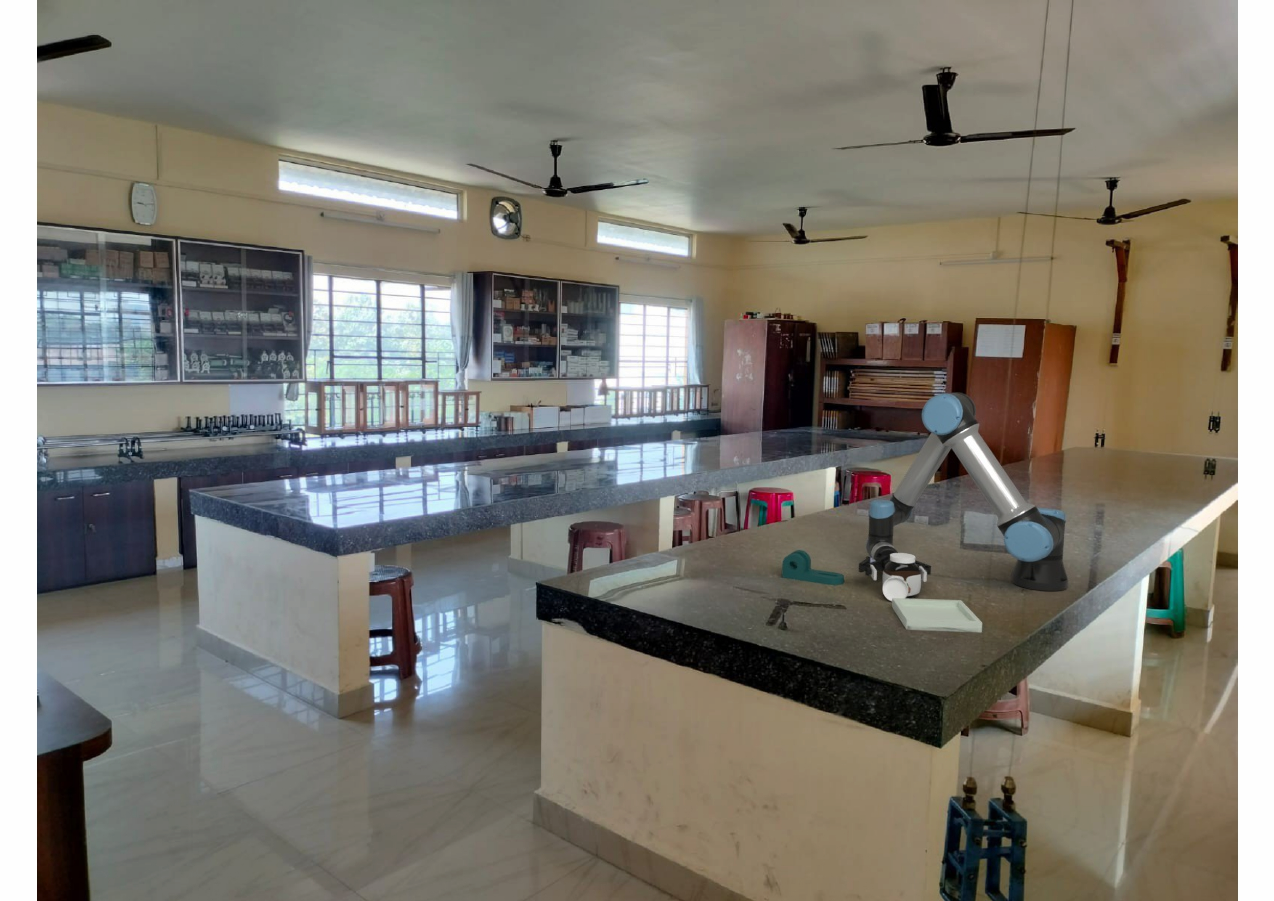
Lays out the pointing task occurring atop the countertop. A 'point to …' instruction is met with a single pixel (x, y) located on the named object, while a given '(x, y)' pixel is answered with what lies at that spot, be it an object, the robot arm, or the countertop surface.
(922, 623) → the tray
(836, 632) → the countertop surface
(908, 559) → the spread jar
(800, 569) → the bracket
